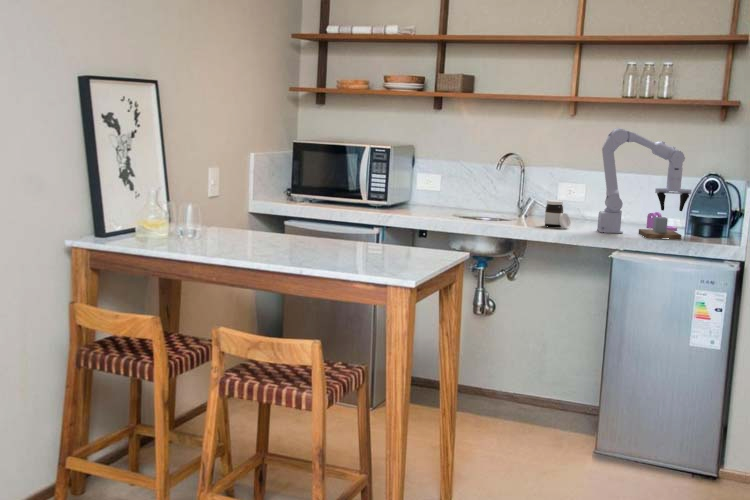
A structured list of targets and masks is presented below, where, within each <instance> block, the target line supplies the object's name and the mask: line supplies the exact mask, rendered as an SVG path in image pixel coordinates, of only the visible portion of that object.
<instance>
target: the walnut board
mask: <svg viewBox="0 0 750 500" xmlns="http://www.w3.org/2000/svg"><path fill="white" fill-rule="evenodd" d="M638 234H639V236H641V235H642V237H643V236H644V237H643V238H645V237H646V238H669V239H681V240H682V234H680V233H678V232H677V231H673V230H667V232H666V233H655V232H654V231H653V228H644V229H643V228H638ZM646 238H645V239H646Z"/></svg>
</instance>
